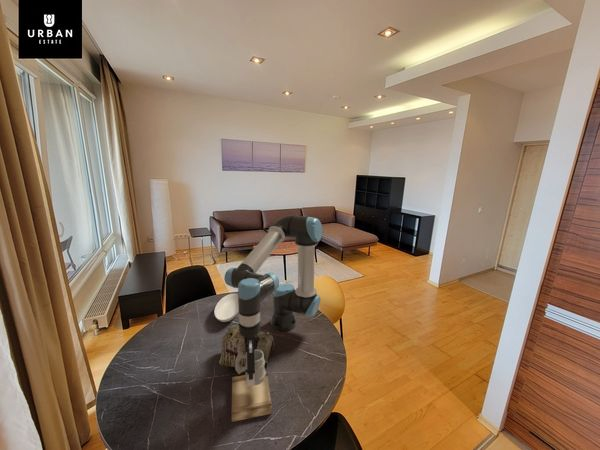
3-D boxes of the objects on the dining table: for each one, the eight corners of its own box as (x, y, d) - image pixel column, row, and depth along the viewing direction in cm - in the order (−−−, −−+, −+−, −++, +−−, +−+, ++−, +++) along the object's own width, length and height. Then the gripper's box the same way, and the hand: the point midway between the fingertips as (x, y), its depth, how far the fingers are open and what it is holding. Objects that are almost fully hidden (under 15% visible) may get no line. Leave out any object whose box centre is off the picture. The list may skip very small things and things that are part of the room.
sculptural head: (277, 321, 124) (228, 313, 124) (273, 341, 102) (214, 332, 102) (272, 354, 124) (223, 347, 124) (267, 381, 103) (208, 373, 102)
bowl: (236, 329, 136) (236, 319, 135) (209, 329, 135) (208, 319, 134) (245, 301, 165) (245, 293, 164) (222, 301, 164) (222, 293, 163)
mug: (262, 387, 89) (262, 359, 87) (231, 383, 90) (230, 355, 88) (267, 370, 97) (267, 344, 94) (238, 367, 98) (237, 341, 95)
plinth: (266, 378, 104) (266, 370, 103) (271, 413, 89) (271, 404, 88) (232, 384, 101) (232, 376, 100) (231, 422, 86) (231, 412, 85)
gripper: (238, 307, 97) (239, 357, 101) (238, 341, 77) (240, 401, 82) (257, 305, 99) (258, 355, 103) (262, 338, 79) (263, 397, 84)
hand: (250, 375), depth 93 cm, fingers closed on mug, 8 cm apart
